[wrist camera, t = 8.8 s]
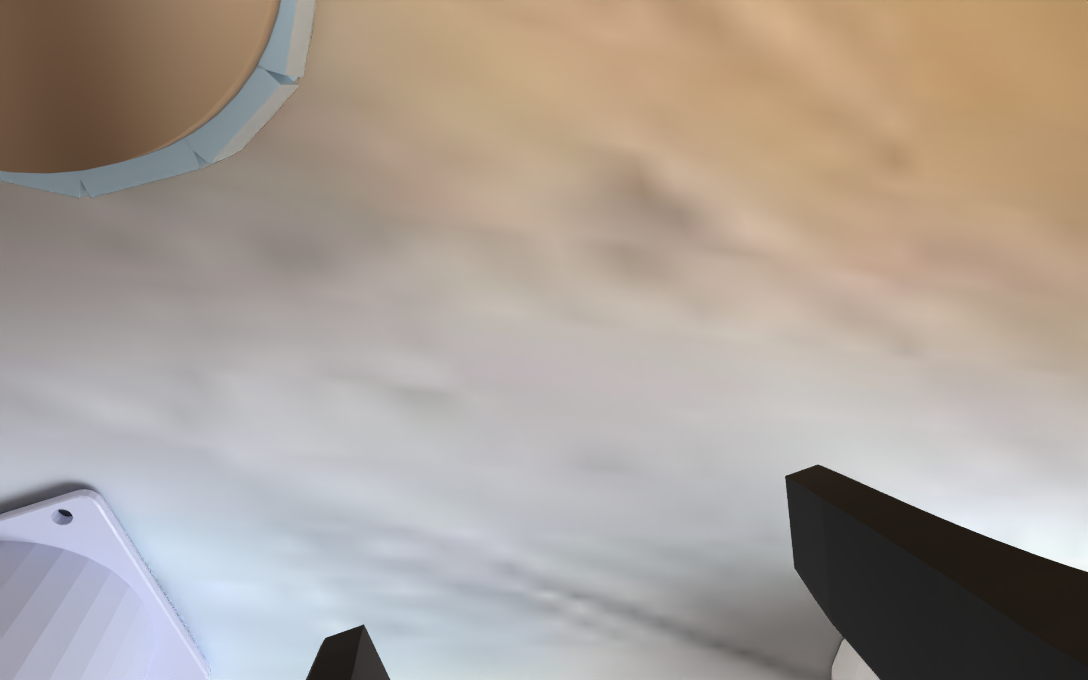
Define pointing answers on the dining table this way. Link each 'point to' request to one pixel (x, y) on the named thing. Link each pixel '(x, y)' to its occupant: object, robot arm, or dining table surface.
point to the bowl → (216, 136)
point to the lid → (119, 75)
